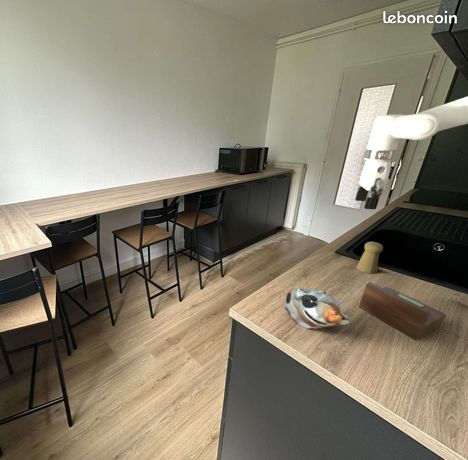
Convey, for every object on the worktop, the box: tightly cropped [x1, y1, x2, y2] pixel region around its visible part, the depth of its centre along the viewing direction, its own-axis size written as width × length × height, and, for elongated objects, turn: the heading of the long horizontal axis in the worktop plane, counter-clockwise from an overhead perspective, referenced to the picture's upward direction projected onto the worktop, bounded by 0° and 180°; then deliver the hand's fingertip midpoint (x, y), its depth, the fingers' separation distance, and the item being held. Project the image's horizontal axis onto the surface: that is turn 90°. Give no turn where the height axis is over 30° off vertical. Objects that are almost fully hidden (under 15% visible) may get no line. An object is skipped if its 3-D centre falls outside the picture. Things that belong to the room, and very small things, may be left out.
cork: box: [356, 241, 384, 275], centre depth 93 cm, size 6×6×11 cm
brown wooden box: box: [358, 281, 447, 341], centre depth 71 cm, size 12×14×9 cm
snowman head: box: [284, 287, 352, 330], centre depth 70 cm, size 15×12×14 cm
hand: (364, 204), depth 90 cm, fingers open, 9 cm apart
